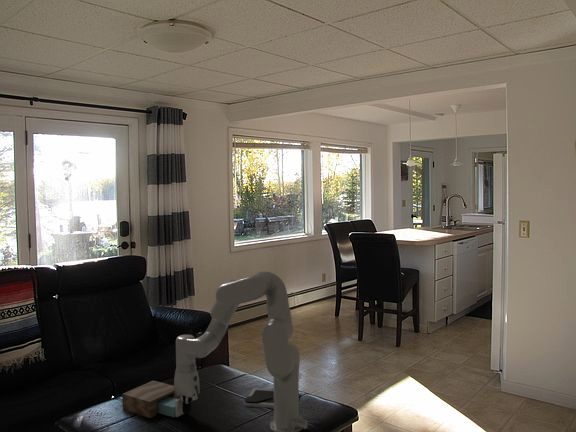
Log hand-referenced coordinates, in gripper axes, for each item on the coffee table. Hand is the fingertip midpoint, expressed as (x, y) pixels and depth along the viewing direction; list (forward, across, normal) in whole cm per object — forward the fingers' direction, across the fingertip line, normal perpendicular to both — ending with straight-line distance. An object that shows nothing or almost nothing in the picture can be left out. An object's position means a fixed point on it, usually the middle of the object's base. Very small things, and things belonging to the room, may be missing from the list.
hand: (186, 411), depth 195 cm
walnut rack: (+2, +20, 0) cm, 20 cm away
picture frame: (+3, -21, -30) cm, 37 cm away
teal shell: (+2, +11, 0) cm, 11 cm away
